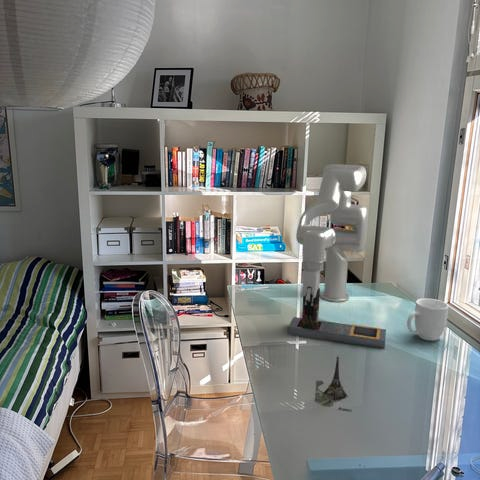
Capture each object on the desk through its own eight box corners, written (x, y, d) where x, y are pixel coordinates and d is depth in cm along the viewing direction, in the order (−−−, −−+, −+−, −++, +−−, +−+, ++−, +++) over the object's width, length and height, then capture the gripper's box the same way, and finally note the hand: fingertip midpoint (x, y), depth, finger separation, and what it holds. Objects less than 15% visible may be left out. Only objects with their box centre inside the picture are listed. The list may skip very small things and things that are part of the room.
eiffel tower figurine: (315, 381, 144) (318, 339, 141) (350, 385, 143) (353, 343, 140) (314, 408, 130) (317, 363, 127) (352, 413, 128) (356, 367, 125)
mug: (416, 346, 168) (419, 311, 165) (397, 333, 178) (400, 300, 176) (451, 341, 173) (455, 307, 170) (430, 329, 183) (434, 297, 180)
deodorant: (317, 330, 175) (319, 291, 172) (301, 329, 177) (302, 290, 173) (318, 324, 181) (320, 286, 178) (302, 323, 182) (304, 285, 179)
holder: (293, 324, 185) (293, 316, 185) (385, 337, 175) (386, 329, 175) (287, 334, 176) (288, 326, 175) (384, 348, 166) (385, 339, 165)
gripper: (306, 257, 182) (304, 302, 187) (297, 270, 166) (295, 319, 171) (326, 259, 180) (324, 305, 184) (319, 272, 164) (316, 322, 168)
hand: (310, 311), depth 177 cm, fingers closed on deodorant, 5 cm apart
